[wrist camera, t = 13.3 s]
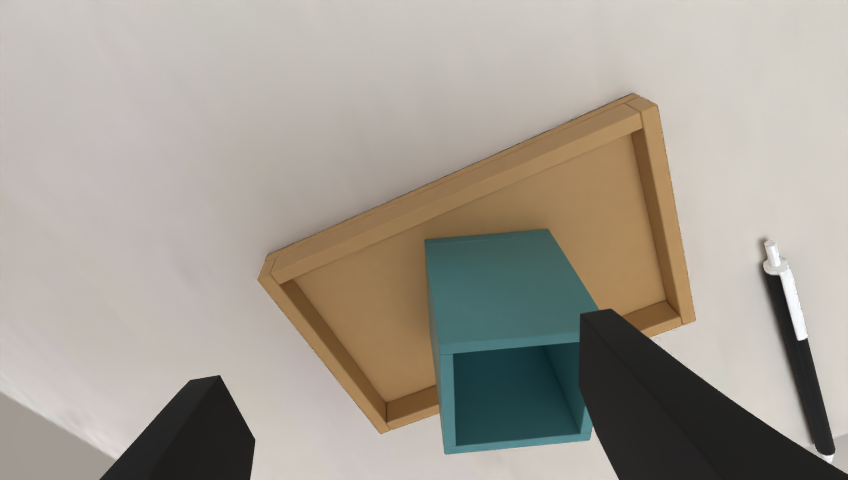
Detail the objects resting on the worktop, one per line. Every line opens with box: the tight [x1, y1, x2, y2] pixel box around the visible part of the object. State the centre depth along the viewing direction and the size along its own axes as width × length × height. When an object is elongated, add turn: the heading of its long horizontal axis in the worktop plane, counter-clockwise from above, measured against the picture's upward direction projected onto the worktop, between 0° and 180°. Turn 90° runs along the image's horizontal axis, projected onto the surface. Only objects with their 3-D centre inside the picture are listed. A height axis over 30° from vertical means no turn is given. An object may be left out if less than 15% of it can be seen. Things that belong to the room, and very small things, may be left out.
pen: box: [763, 240, 835, 463], centre depth 24 cm, size 1×19×1 cm, turn 32°
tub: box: [424, 229, 599, 454], centre depth 17 cm, size 5×5×6 cm
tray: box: [257, 93, 696, 434], centre depth 19 cm, size 15×10×2 cm
